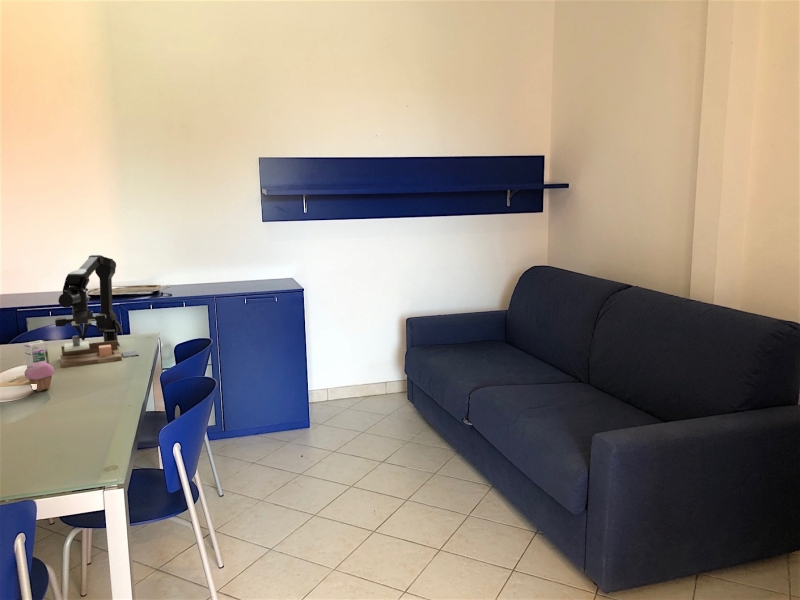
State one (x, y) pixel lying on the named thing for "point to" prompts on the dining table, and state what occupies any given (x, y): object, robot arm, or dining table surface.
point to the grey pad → (130, 353)
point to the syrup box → (36, 352)
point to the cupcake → (40, 375)
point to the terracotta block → (105, 350)
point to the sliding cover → (76, 345)
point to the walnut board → (89, 355)
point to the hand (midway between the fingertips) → (83, 340)
